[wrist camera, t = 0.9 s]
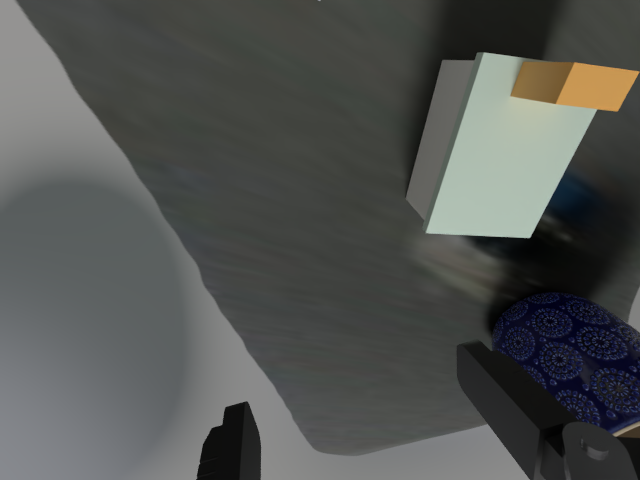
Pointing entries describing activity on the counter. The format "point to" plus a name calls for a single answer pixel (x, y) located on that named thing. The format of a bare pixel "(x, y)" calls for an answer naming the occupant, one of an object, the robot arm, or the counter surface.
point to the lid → (516, 141)
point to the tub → (438, 131)
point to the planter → (577, 357)
